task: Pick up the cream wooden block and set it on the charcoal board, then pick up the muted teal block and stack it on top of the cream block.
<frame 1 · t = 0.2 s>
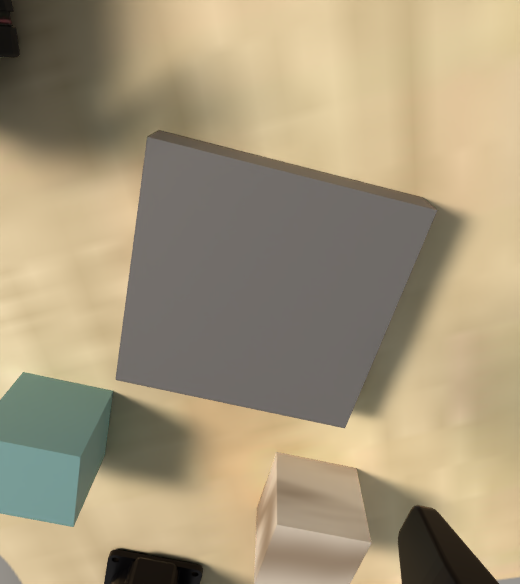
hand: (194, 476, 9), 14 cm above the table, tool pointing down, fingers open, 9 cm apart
base board: (261, 284, 23), on the table
cream block: (305, 487, 29), on the table
teal block: (66, 414, 27), on the table
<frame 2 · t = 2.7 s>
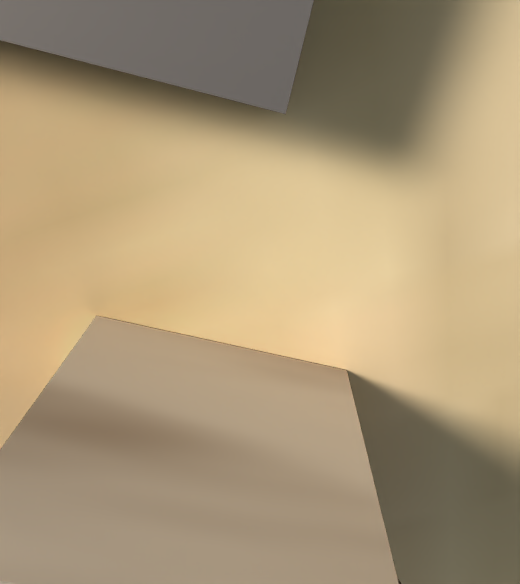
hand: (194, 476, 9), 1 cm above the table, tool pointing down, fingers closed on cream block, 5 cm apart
cream block: (201, 438, 10), on the table, touching gripper
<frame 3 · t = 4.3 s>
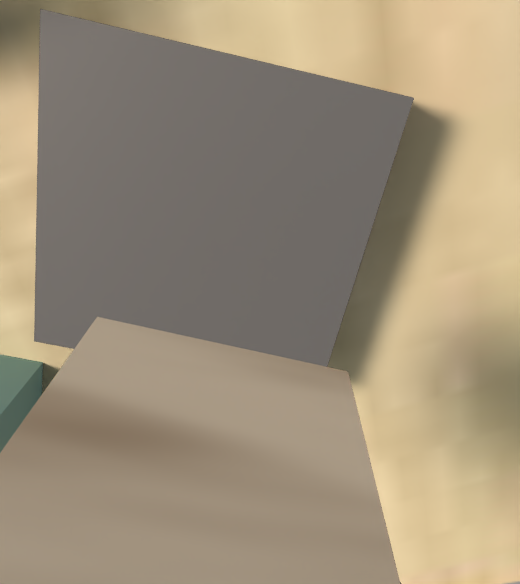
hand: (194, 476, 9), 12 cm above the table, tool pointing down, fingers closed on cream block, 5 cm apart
base board: (208, 219, 19), on the table
cream block: (202, 439, 10), point 11 cm above the table, touching gripper
when the fingers open (4 cm above the table, at t = 6.0 s): cream block drops 1 cm, resting on base board.
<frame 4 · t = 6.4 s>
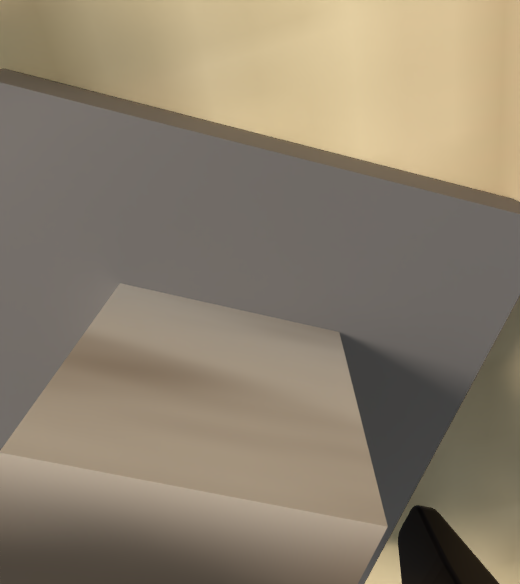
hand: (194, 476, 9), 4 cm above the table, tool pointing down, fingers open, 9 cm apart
base board: (218, 351, 13), on the table
cream block: (210, 395, 11), point 2 cm above the table, touching base board
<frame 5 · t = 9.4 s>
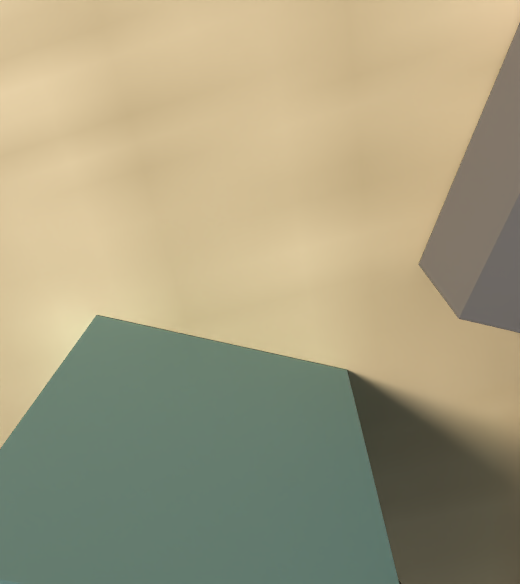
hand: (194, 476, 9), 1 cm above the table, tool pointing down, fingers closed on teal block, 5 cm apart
teal block: (201, 438, 10), on the table, touching gripper
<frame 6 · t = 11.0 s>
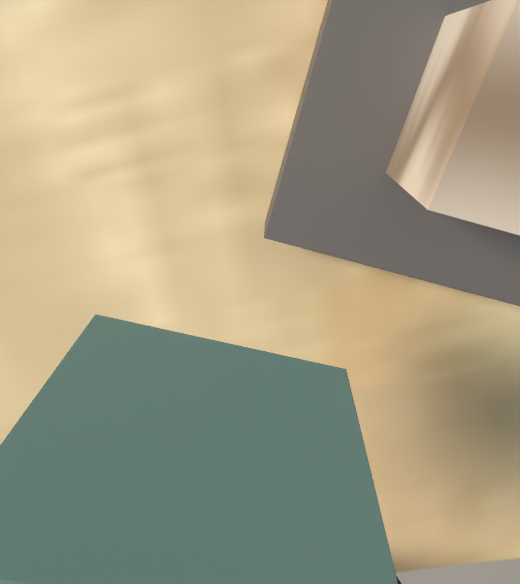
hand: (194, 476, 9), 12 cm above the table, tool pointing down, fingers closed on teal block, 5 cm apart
base board: (460, 115, 18), on the table
cream block: (482, 120, 16), point 2 cm above the table, touching base board
teal block: (200, 437, 10), point 11 cm above the table, touching gripper
when the fingers open (9 cm above the table, at t = 12.5 s): teal block drops 1 cm, resting on cream block.
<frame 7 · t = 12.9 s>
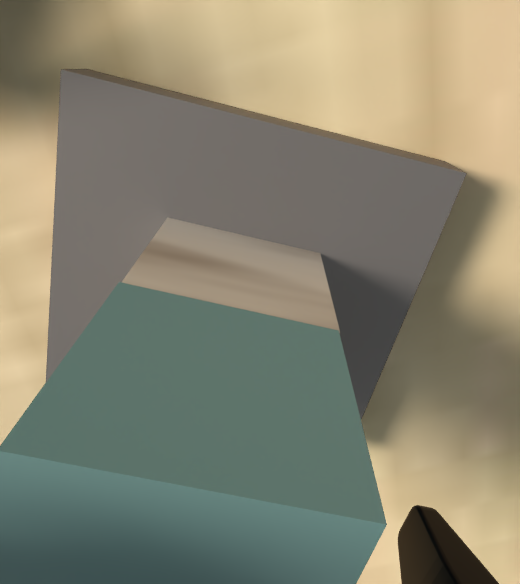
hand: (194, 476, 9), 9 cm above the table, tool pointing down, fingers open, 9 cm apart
base board: (232, 279, 18), on the table
cream block: (229, 303, 16), point 2 cm above the table, touching base board, teal block
teal block: (210, 394, 11), point 7 cm above the table, touching cream block
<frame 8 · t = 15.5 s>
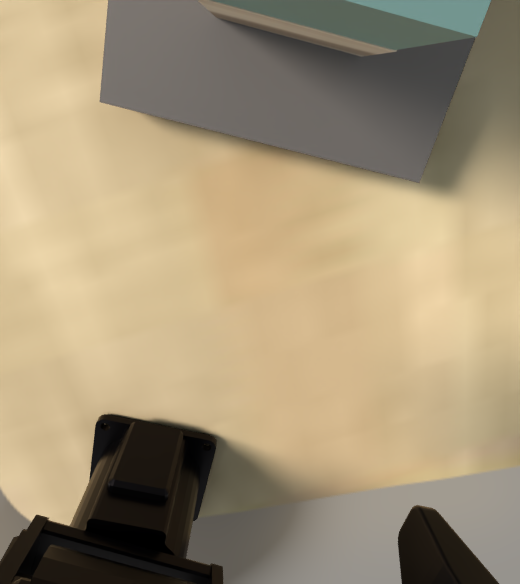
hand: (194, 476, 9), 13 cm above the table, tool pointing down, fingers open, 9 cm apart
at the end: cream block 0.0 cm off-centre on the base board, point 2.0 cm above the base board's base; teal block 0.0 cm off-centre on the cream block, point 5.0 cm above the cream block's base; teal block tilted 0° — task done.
